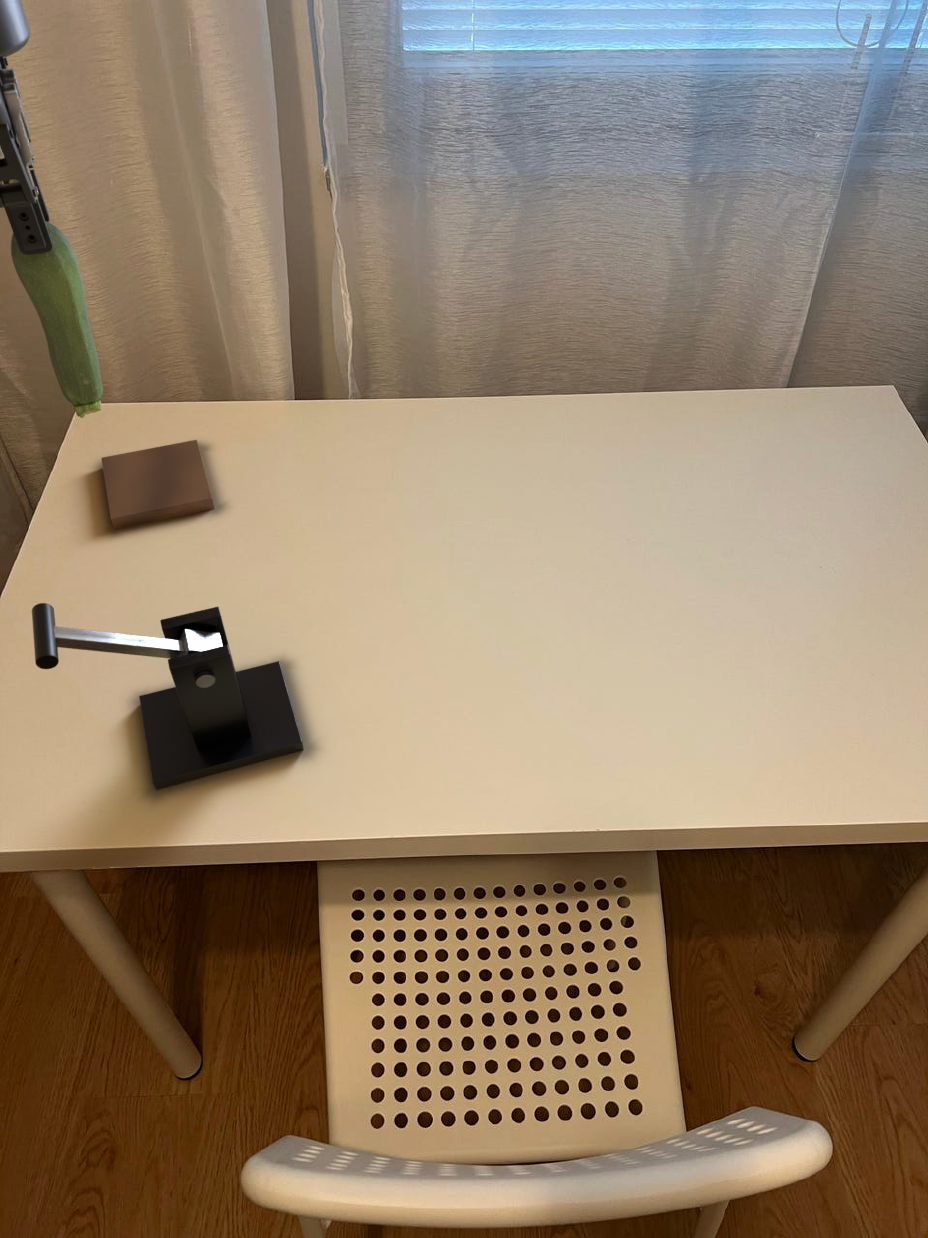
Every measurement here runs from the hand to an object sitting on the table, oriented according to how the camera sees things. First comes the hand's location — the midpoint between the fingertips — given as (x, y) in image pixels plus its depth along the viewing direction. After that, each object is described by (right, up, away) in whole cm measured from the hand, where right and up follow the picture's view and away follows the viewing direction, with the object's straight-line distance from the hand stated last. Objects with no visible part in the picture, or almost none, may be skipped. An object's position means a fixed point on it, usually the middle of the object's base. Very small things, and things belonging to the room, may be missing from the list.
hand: (36, 236), depth 68 cm
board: (-1, -14, +30) cm, 33 cm away
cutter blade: (+6, -30, +1) cm, 31 cm away
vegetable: (0, -10, +12) cm, 15 cm away
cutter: (+11, -37, +11) cm, 40 cm away
